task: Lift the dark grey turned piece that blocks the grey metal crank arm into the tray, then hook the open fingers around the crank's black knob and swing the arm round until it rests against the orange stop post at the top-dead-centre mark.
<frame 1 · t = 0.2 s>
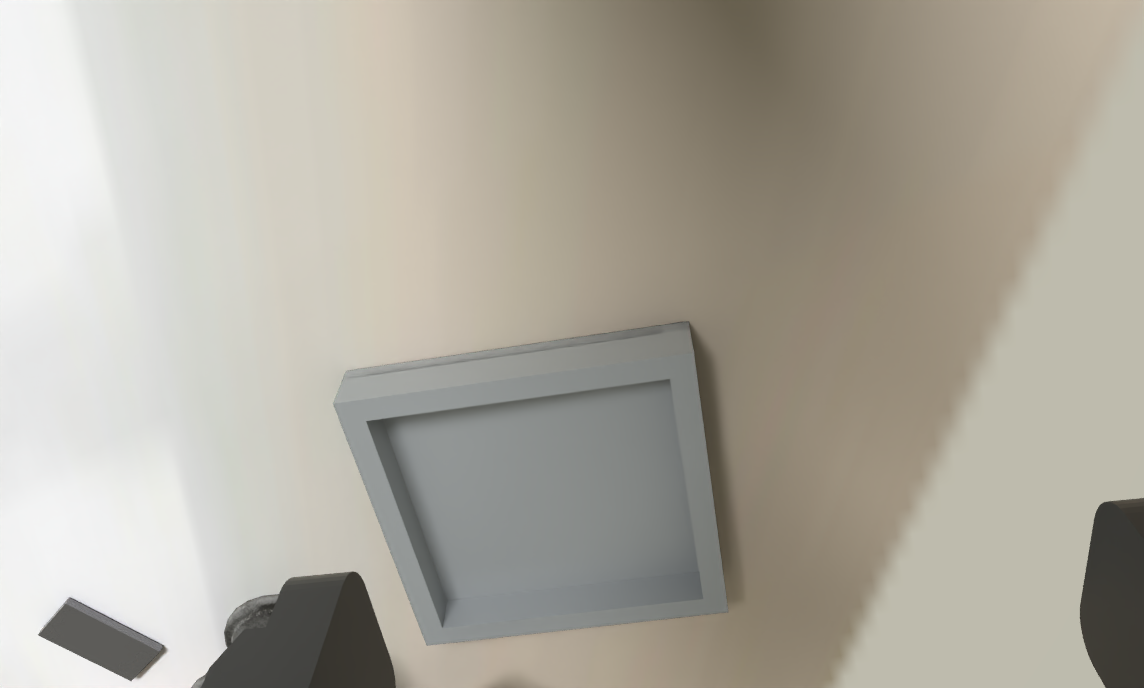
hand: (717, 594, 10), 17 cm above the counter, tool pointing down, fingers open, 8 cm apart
dark grey turned piece: (294, 637, 37), on the counter
tray: (547, 479, 32), on the counter
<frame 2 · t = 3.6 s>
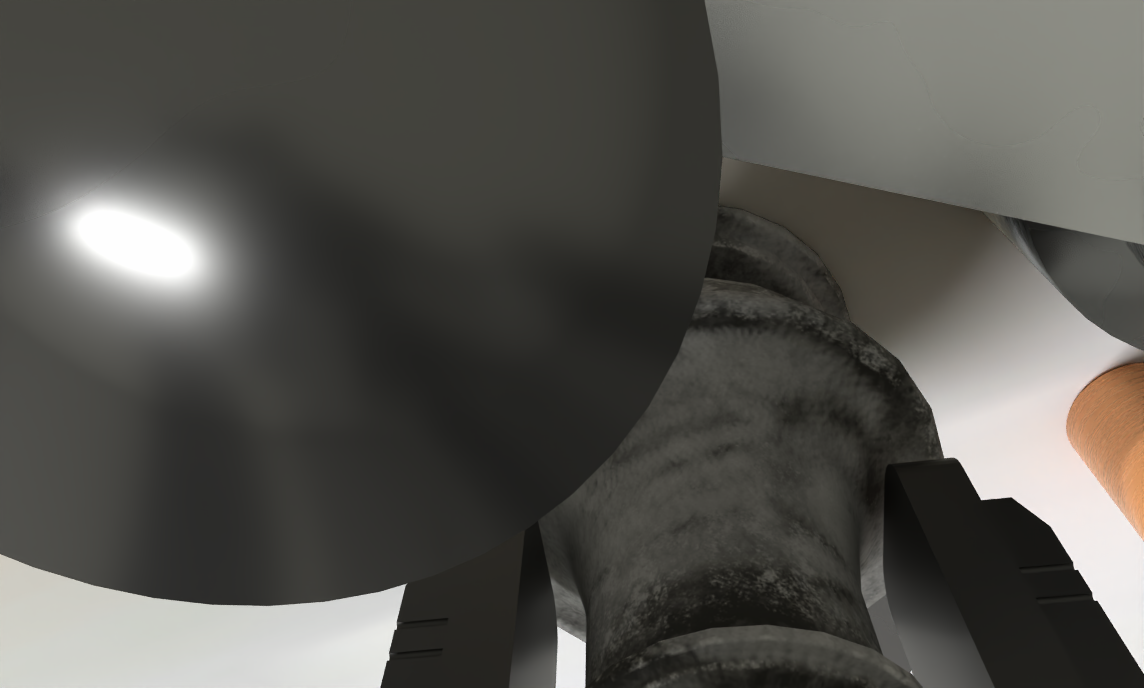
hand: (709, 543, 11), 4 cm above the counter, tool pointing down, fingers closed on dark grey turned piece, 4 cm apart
dark grey turned piece: (681, 353, 15), on the counter, touching gripper
when the fingers open (6 cm above the counter, at t = 7.9 s): dark grey turned piece drops 1 cm, resting on tray.
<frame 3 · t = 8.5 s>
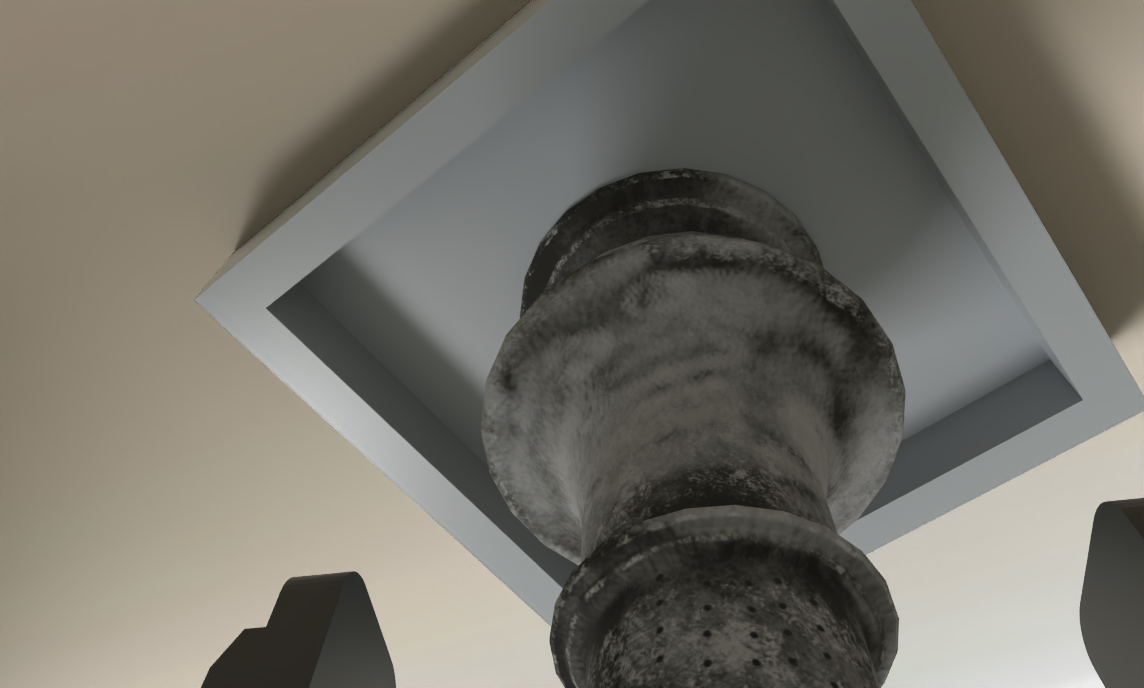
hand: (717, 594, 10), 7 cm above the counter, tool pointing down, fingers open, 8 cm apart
dark grey turned piece: (672, 310, 16), resting on tray
tray: (673, 303, 17), on the counter
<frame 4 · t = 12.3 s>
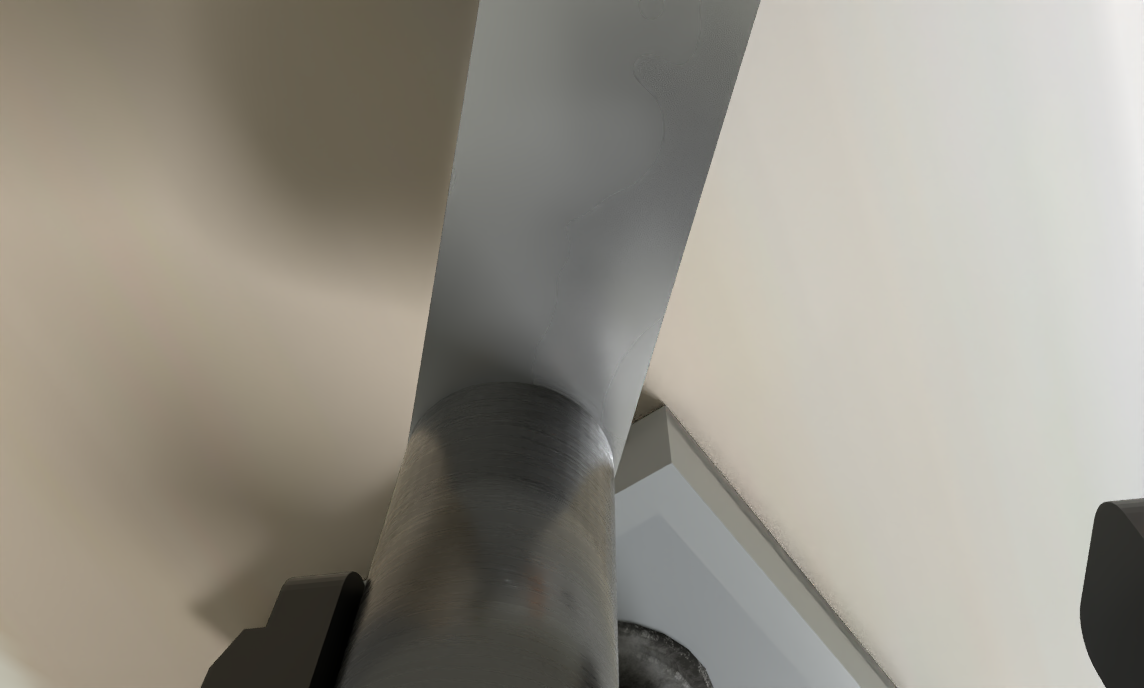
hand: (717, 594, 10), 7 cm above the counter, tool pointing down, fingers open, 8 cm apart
tray: (598, 684, 21), on the counter
crank: (592, 181, 8), point 7 cm above the counter, hinge at 1.1°, touching gripper
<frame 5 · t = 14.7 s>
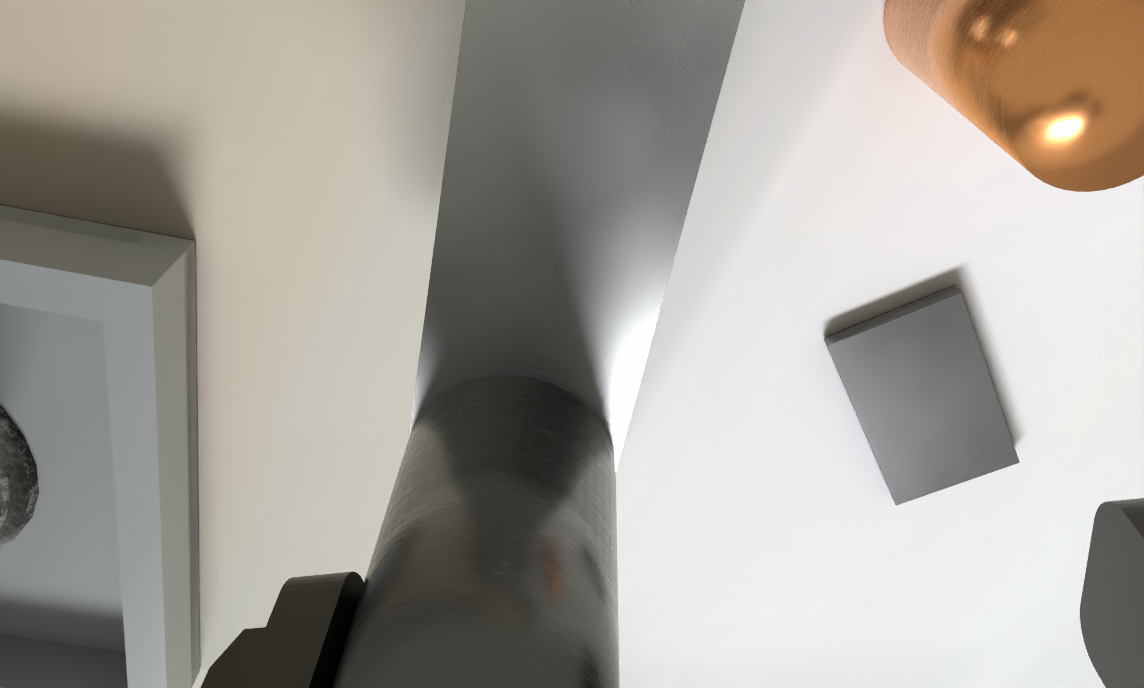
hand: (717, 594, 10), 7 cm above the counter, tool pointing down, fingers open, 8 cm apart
crank: (580, 169, 8), point 7 cm above the counter, hinge at 49.9°, touching gripper
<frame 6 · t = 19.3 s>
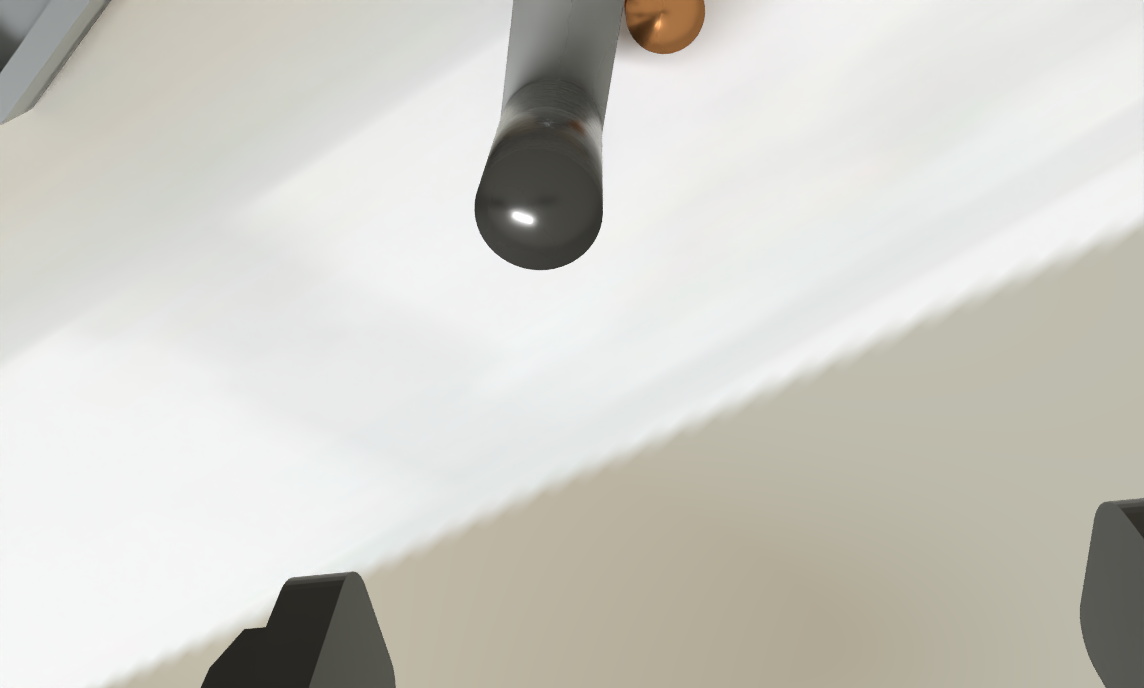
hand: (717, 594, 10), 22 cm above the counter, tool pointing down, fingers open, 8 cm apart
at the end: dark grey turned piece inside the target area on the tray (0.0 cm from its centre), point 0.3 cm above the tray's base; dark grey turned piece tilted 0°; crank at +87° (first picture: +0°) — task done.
